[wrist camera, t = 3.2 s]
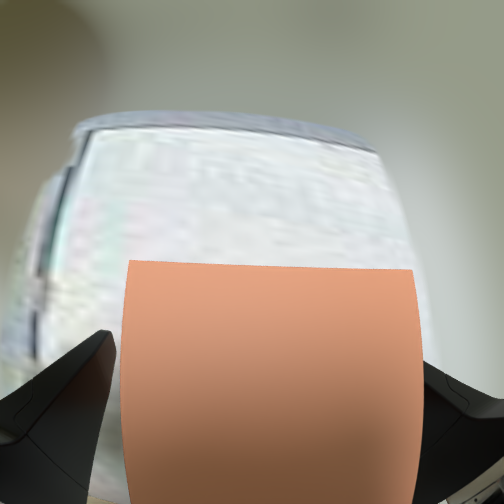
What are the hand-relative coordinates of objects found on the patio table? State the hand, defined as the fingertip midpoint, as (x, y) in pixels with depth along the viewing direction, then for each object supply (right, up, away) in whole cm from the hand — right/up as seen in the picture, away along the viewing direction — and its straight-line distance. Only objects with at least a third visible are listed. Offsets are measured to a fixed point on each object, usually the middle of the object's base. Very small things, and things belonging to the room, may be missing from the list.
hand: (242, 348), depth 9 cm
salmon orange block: (-1, -4, +6) cm, 7 cm away
